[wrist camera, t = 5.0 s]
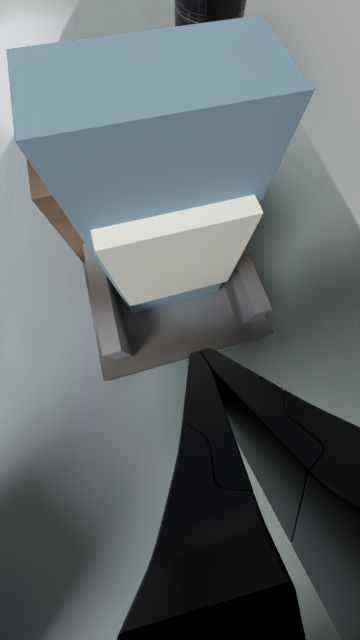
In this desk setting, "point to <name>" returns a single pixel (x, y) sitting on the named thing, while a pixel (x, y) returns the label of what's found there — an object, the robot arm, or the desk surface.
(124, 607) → the desk surface
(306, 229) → the desk surface
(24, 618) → the desk surface
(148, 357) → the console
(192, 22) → the supplement bottle
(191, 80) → the blue white block
